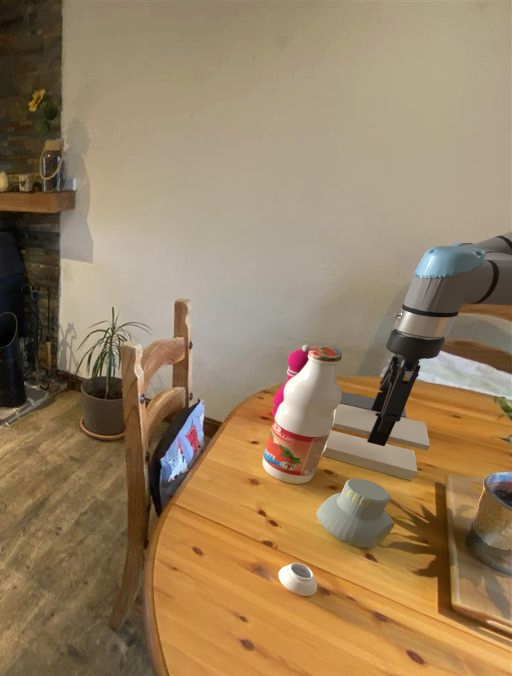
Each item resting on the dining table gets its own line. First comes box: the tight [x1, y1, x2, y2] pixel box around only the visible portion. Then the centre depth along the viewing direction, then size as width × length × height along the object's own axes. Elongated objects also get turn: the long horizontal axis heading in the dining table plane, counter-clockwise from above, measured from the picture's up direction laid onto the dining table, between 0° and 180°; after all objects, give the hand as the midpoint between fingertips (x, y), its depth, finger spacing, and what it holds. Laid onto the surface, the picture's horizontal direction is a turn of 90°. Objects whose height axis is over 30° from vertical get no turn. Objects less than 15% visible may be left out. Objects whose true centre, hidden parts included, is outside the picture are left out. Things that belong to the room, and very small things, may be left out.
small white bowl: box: [278, 562, 318, 597], centre depth 65 cm, size 5×3×5 cm
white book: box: [332, 404, 431, 452], centre depth 87 cm, size 15×10×1 cm, turn 52°
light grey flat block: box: [321, 429, 418, 481], centre depth 91 cm, size 15×8×2 cm, turn 52°
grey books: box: [333, 391, 407, 418], centre depth 103 cm, size 13×7×5 cm, turn 52°
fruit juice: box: [261, 346, 343, 485], centre depth 83 cm, size 9×9×28 cm
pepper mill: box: [271, 344, 312, 418], centre depth 103 cm, size 7×7×20 cm
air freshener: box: [315, 478, 395, 549], centre depth 72 cm, size 11×8×10 cm
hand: (375, 431), depth 88 cm, fingers closed on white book, 10 cm apart
